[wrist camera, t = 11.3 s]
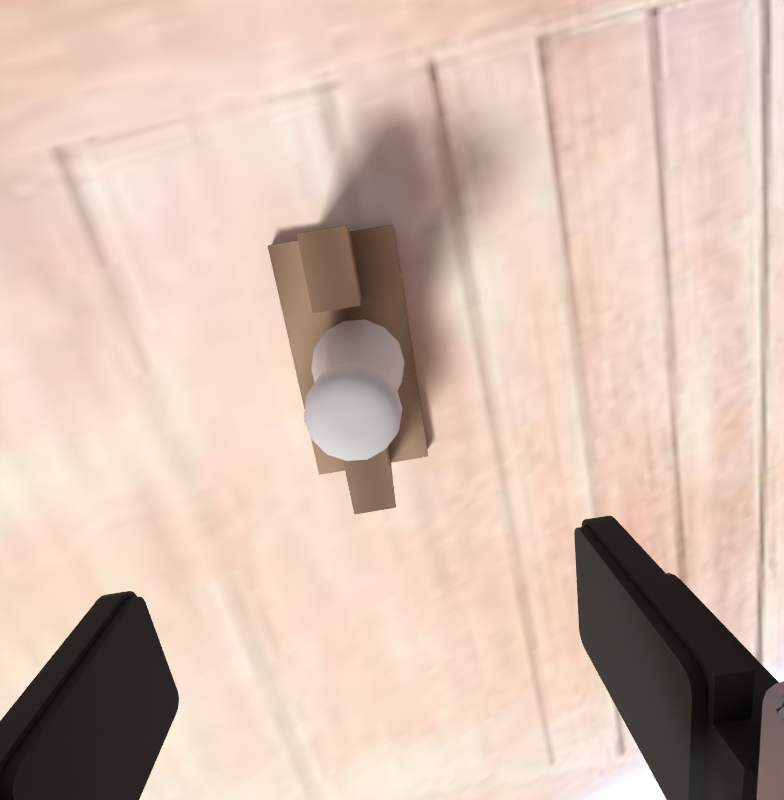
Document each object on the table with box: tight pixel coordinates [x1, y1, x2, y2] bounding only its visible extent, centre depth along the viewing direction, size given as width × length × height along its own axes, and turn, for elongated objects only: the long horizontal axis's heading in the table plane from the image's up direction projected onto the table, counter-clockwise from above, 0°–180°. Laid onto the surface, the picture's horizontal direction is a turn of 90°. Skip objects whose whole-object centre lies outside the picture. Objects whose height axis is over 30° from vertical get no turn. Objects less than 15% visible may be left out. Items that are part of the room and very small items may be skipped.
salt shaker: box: [304, 319, 404, 461], centre depth 26 cm, size 6×6×13 cm
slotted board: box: [268, 225, 428, 514], centre depth 30 cm, size 8×16×8 cm, turn 9°
